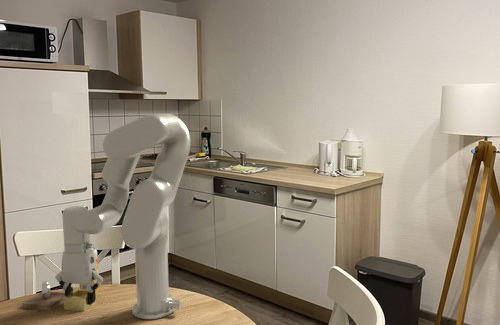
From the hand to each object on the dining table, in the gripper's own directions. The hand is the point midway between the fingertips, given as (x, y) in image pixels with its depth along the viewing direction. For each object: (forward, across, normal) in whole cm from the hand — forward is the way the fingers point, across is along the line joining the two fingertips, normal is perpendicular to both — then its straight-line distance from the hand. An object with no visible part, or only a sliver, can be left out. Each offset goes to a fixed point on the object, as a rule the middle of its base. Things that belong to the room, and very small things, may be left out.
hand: (80, 301), depth 148 cm
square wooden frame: (+1, 0, 0) cm, 1 cm away
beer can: (+2, +3, -10) cm, 11 cm away
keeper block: (+1, +12, 0) cm, 12 cm away
